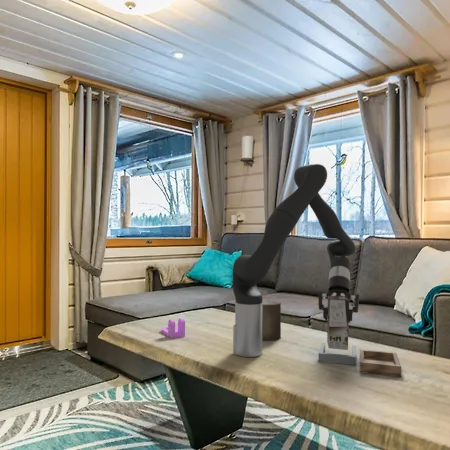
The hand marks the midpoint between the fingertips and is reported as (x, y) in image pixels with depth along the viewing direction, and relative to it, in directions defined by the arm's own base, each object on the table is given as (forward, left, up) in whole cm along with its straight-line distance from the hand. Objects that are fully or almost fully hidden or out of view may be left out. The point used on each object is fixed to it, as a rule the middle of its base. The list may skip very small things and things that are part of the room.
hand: (337, 320), depth 135 cm
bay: (0, 0, -12) cm, 12 cm away
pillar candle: (-27, +16, -12) cm, 33 cm away
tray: (+13, -7, -12) cm, 19 cm away
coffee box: (0, 0, -9) cm, 9 cm away
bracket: (-65, +8, -12) cm, 66 cm away
